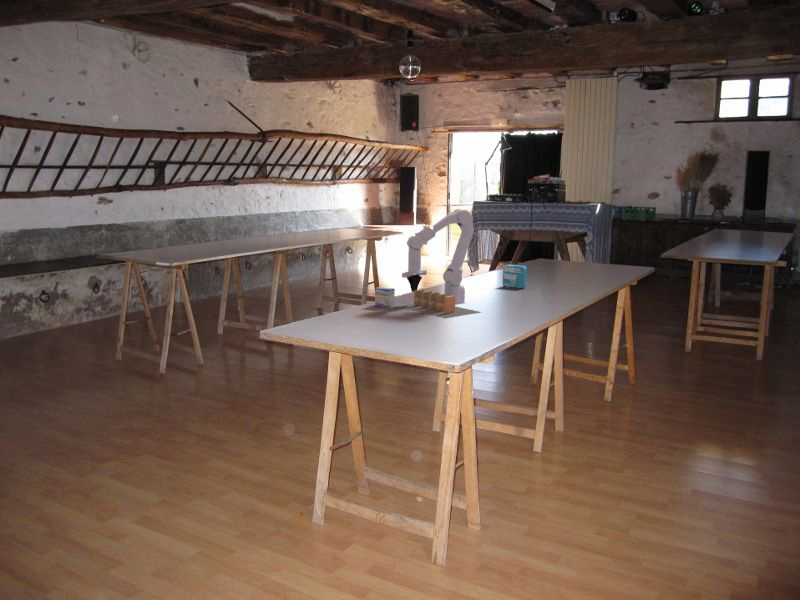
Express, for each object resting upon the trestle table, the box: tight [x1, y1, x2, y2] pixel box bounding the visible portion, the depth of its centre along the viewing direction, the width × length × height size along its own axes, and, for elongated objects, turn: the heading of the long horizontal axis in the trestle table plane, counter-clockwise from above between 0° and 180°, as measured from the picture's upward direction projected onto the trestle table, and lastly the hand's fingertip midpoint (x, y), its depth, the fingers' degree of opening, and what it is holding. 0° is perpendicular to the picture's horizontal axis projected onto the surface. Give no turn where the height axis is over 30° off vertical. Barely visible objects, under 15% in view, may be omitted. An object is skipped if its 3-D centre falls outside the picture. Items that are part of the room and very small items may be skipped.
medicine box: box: [374, 286, 396, 308], centre depth 311 cm, size 8×4×9 cm, turn 62°
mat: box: [397, 303, 482, 319], centre depth 305 cm, size 22×32×1 cm
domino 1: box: [413, 289, 426, 306], centre depth 313 cm, size 2×5×7 cm, turn 130°
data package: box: [502, 264, 528, 289], centre depth 371 cm, size 12×4×12 cm, turn 58°
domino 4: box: [436, 293, 447, 312], centre depth 301 cm, size 2×5×7 cm, turn 130°
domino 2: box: [421, 290, 433, 308], centre depth 309 cm, size 2×5×7 cm, turn 130°
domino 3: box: [429, 291, 440, 310], centre depth 305 cm, size 2×5×7 cm, turn 130°
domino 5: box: [444, 296, 456, 313], centre depth 297 cm, size 2×5×7 cm, turn 130°
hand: (414, 291), depth 315 cm, fingers closed
